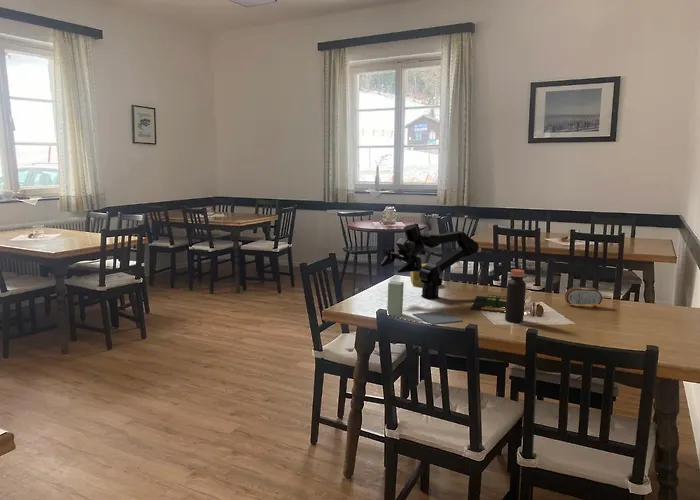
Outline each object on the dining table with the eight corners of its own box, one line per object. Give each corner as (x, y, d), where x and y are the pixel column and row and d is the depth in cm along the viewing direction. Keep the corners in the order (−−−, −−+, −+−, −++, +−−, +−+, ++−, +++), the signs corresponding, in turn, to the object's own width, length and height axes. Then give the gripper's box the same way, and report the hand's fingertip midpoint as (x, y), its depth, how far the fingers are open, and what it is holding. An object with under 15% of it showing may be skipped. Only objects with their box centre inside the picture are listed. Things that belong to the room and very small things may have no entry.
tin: (599, 306, 233) (601, 287, 232) (602, 308, 230) (603, 289, 229) (563, 304, 234) (565, 286, 233) (565, 306, 231) (567, 287, 230)
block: (390, 312, 215) (391, 280, 213) (402, 313, 213) (403, 282, 211) (387, 315, 210) (388, 283, 208) (399, 317, 209) (400, 284, 207)
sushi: (470, 311, 223) (471, 302, 222) (476, 297, 246) (477, 289, 245) (533, 318, 215) (534, 309, 214) (533, 303, 238) (534, 295, 237)
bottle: (524, 323, 204) (528, 272, 201) (505, 322, 205) (509, 271, 202) (522, 319, 210) (525, 269, 207) (504, 317, 212) (507, 268, 209)
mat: (442, 311, 218) (442, 310, 218) (462, 321, 205) (462, 320, 205) (412, 314, 212) (412, 313, 212) (431, 324, 200) (431, 323, 200)
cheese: (433, 287, 263) (434, 267, 261) (411, 286, 263) (412, 266, 261) (430, 282, 273) (431, 263, 271) (409, 281, 273) (410, 262, 271)
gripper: (393, 229, 233) (370, 246, 224) (428, 240, 221) (405, 258, 212) (396, 251, 239) (373, 268, 230) (430, 262, 227) (408, 281, 218)
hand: (389, 268), depth 222 cm, fingers open, 9 cm apart
